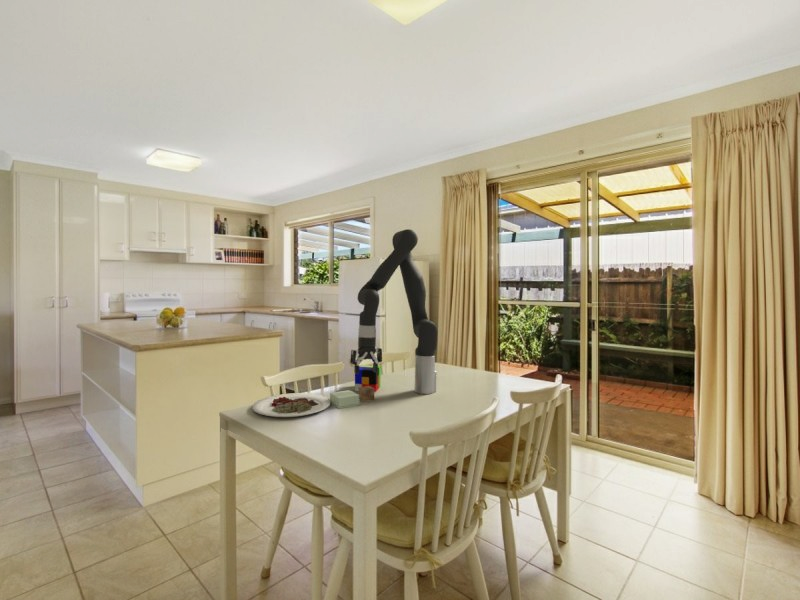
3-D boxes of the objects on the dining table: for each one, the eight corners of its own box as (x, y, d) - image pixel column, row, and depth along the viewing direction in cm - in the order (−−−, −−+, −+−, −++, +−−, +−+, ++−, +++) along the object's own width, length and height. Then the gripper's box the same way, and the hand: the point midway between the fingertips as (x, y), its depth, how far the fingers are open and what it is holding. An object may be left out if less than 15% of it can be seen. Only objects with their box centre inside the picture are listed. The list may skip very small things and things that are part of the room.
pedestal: (349, 398, 176) (349, 389, 176) (360, 404, 168) (360, 395, 168) (328, 402, 171) (328, 392, 170) (338, 408, 162) (338, 398, 162)
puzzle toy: (354, 390, 189) (355, 369, 189) (360, 385, 199) (360, 365, 199) (375, 392, 188) (376, 370, 187) (380, 386, 198) (380, 366, 197)
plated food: (312, 423, 145) (312, 414, 145) (236, 417, 151) (236, 408, 151) (340, 400, 175) (340, 392, 175) (276, 395, 181) (276, 387, 181)
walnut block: (368, 397, 180) (368, 385, 179) (374, 400, 175) (374, 388, 175) (358, 398, 177) (358, 387, 177) (364, 401, 173) (364, 390, 172)
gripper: (377, 333, 182) (376, 369, 183) (348, 335, 174) (347, 372, 175) (385, 336, 176) (384, 373, 176) (356, 337, 168) (355, 376, 169)
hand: (366, 373), depth 176 cm, fingers open, 8 cm apart
